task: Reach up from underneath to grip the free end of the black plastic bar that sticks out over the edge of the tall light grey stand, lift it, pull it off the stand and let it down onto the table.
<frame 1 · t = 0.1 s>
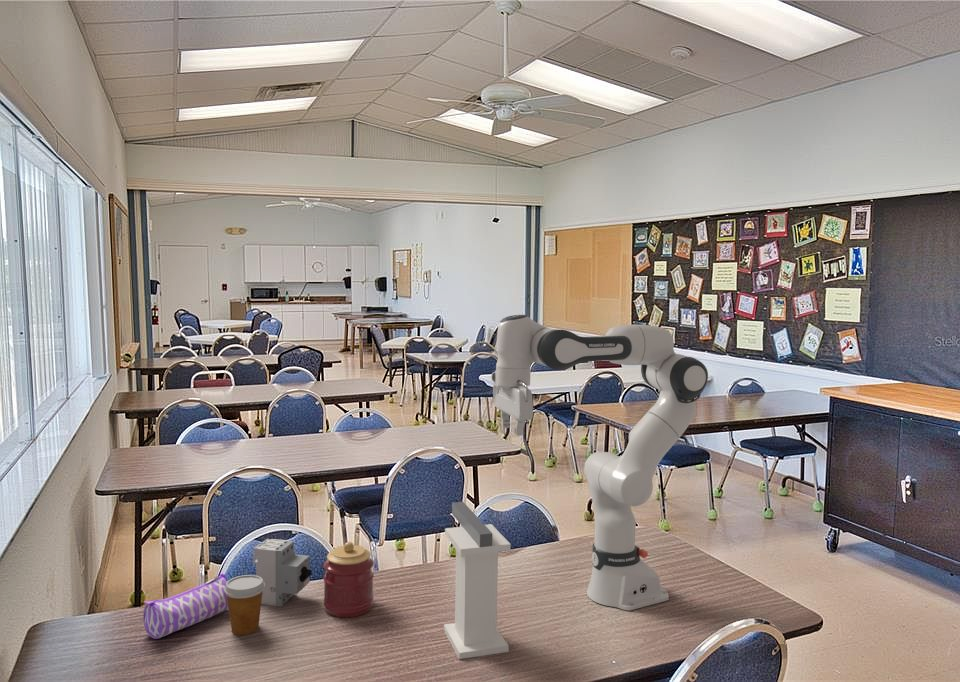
hand: (512, 431, 184), 48 cm above the table, tool pointing down, fingers open, 8 cm apart
stand: (475, 640, 171), on the table
disposable coffee cup: (245, 629, 175), on the table
pencil case: (190, 624, 178), on the table
canister: (348, 607, 188), on the table
circuit breaker: (284, 600, 192), on the table
bar: (470, 528, 174), point 26 cm above the table, touching stand
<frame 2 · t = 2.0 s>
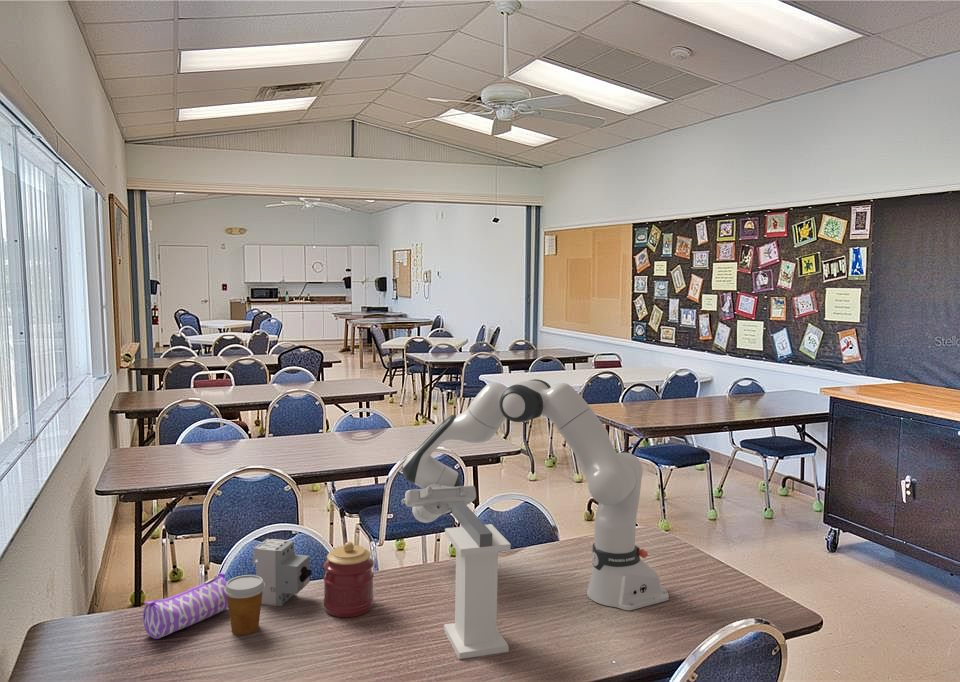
hand: (446, 489, 195), 29 cm above the table, tool pointing upward, fingers open, 8 cm apart
nothing on the table moved.
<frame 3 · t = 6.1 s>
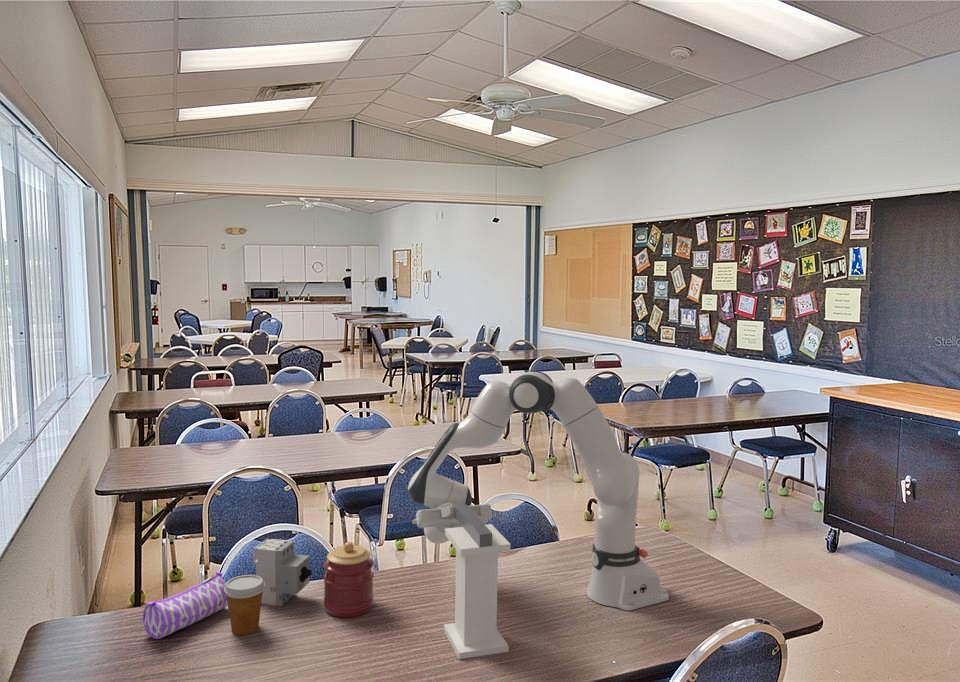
hand: (460, 509, 183), 28 cm above the table, tool pointing upward, fingers closed on bar, 3 cm apart
bar: (470, 528, 174), point 26 cm above the table, touching gripper, stand
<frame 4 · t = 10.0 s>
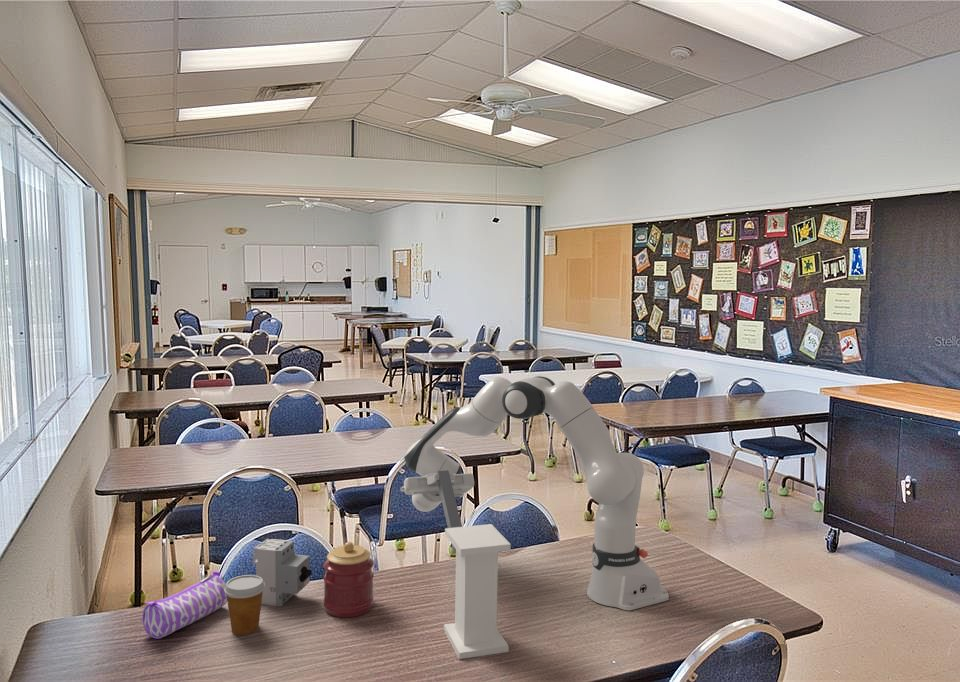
hand: (444, 476, 197), 32 cm above the table, tool pointing upward, fingers closed on bar, 3 cm apart
bar: (449, 513, 192), point 24 cm above the table, tilted 38°, touching gripper
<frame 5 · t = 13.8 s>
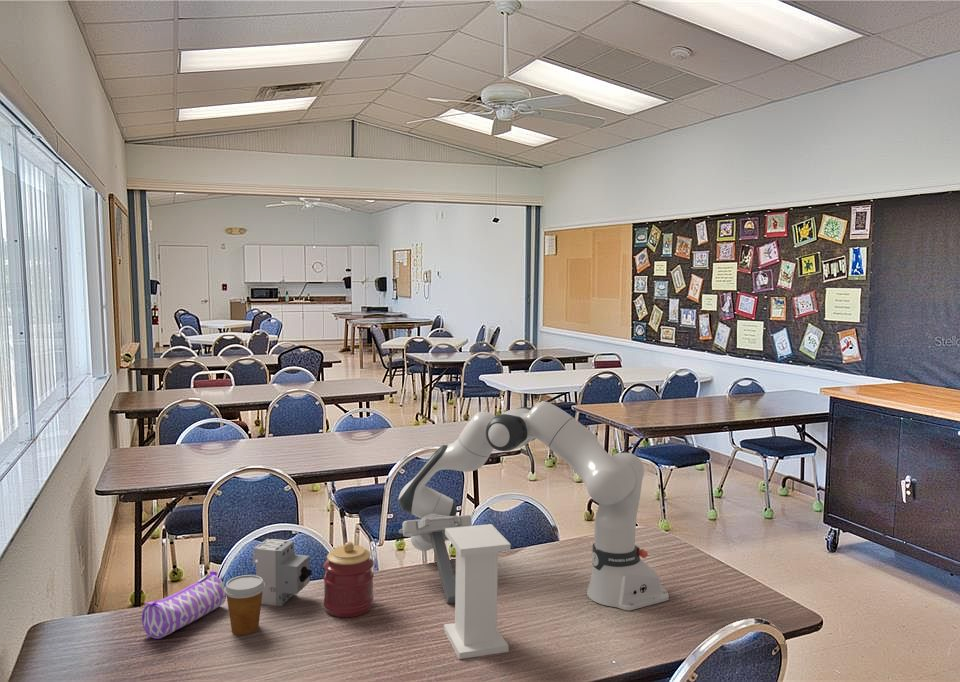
hand: (442, 520, 200), 19 cm above the table, tool pointing upward, fingers open, 7 cm apart
bar: (442, 566, 201), point 6 cm above the table, tilted 30°, touching arm
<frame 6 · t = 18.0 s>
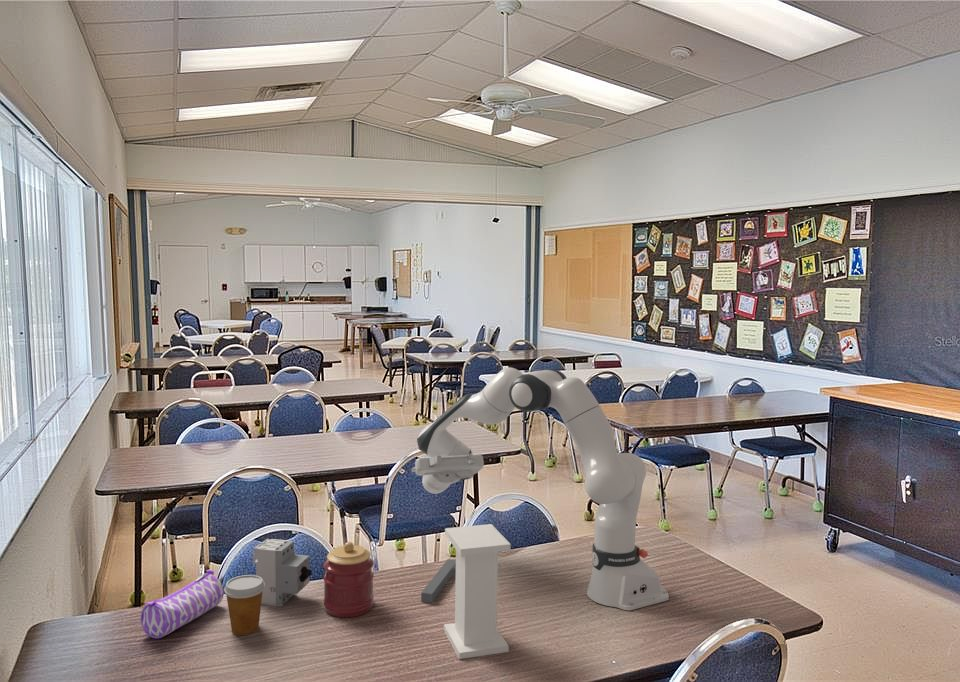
hand: (455, 457, 202), 36 cm above the table, tool pointing upward, fingers open, 8 cm apart
bar: (440, 585, 203), on the table
at the end: bar on the table; bar touching table; bar moved 38.5 cm from its start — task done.
